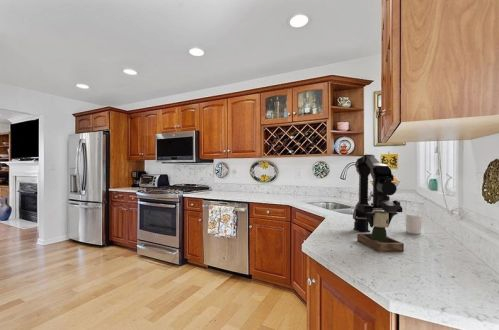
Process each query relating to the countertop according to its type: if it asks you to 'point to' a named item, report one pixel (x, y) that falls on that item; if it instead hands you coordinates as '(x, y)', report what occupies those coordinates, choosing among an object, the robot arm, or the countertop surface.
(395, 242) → the box
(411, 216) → the white cup
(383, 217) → the character mug
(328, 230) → the countertop surface
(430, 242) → the countertop surface
